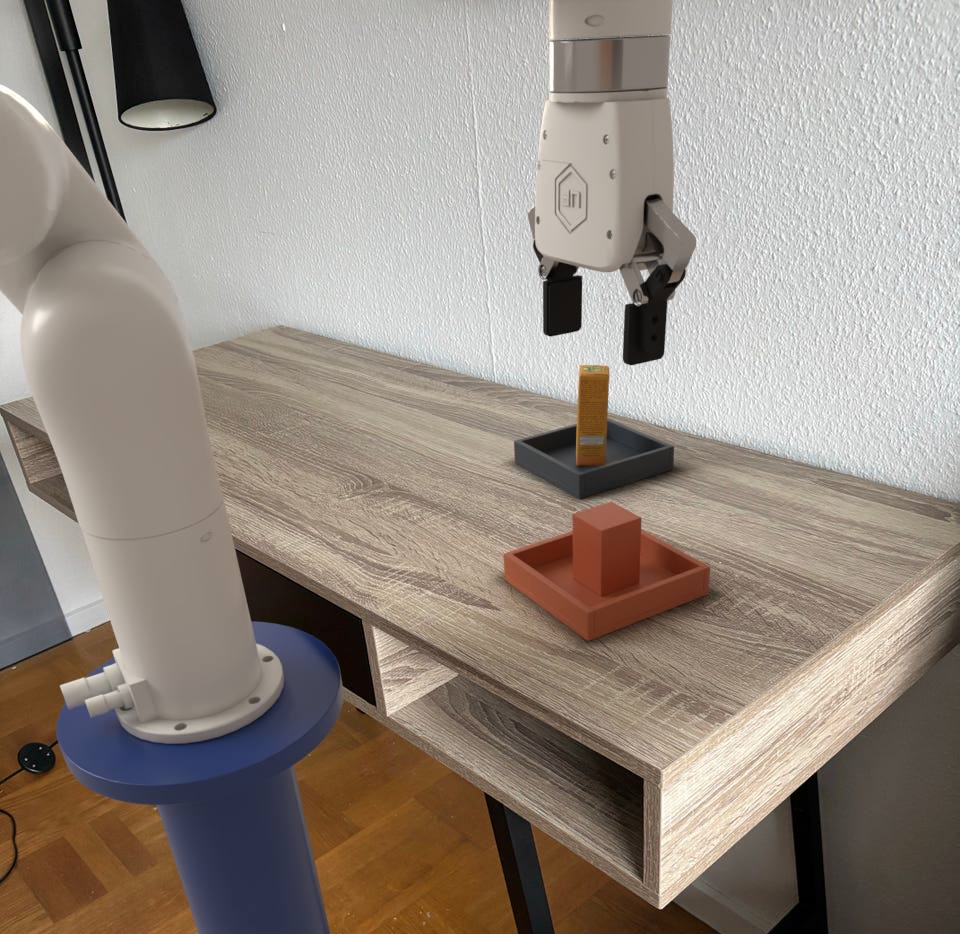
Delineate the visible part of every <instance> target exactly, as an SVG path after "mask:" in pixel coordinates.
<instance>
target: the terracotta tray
mask: <svg viewBox="0 0 960 934" xmlns="http://www.w3.org/2000/svg"><path fill="white" fill-rule="evenodd" d="M503 567H504V568H503V570H504V581H506V582H507V583H508V584H510V585H511V586H513V587H514V588H515V589H517V590H518V591H519V592H520V593H522V594H523V595H524V596H526V597H527V598H528V599H530V600H531V601H532V602H534V603H535V604H537V605H538V606H539V607H541V608H542V609H543V610H545V611H546V612H547V613H549V614H550V615H552V616H553V617H554V618H555V619H557V620H558V621H560V622H561V623H562V624H564V625H565V626H566V627H568V628H569V629H570V630H572V631H573V632H575V633H576V634H577V635H578V636H580V637H582V638H583V639H584V640H586V641H587V642H590V641H593V640H595V639H598V638H600V637H603V636H605V635H608V634H610V633H613V632H615V631H618V630H620V629H623V628H625V627H629V626H630V625H633V624H636V623H638V622H641V621H644V620H646V619H649V618H651V617H653V616H657V615H659V614H662V613H664V612H667V611H670V610H671V609H675V608H677V607H679V606H682V605H684V604H687V603H690V602H692V601H694V600H698V599H700V598H702V597H705V596H707V595H709V588H710V576H711V566H710V565H708V564H706V563H704V562H703V561H700V560H699V559H697V558H695V557H693V556H691V555H689V554H687V553H686V552H684V551H682V550H680V549H678V548H677V547H675V546H673V545H671V544H669V543H668V542H665V541H664V540H662V539H661V538H659V537H656V536H655V535H654V534H651V533H650V532H648V531H646V530H644V529H642V528H641V548H640V577H639V583H637V584H634V585H631V586H629V587H626V588H623V589H621V590H618V591H615V592H612V593H610V594H607V595H604V596H602V597H601V596H599V595H598V594H596V593H595V592H593V591H592V590H590V589H589V588H587V587H586V586H584V585H583V584H581V583H580V582H578V581H577V580H575V579H574V578H573V530H571V531H568V532H565V533H561V534H559V535H555V536H553V537H550V538H547V539H544V540H541V541H537V542H535V543H534V542H533V543H532V544H529V545H526V546H523V547H519V548H517V549H513V550H511V551H509V552H505V553H503Z"/></svg>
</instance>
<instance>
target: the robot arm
mask: <svg viewBox="0 0 960 934" xmlns="http://www.w3.org/2000/svg"><path fill="white" fill-rule="evenodd" d="M673 2H674V1H673V0H548V40H549V42H548V91H549V92H548V99H545V103H544V108H543V113H542V119H541V124H540V125H541V126H540V132H539V141H538V150H537V162H536V163H537V164H536V177H535V178H536V179H535V182H536V183H535V201H534V202H535V203H534V204H535V205H533V206H532V207H531V208H529V210H528V213H527V219H528V224H529V228H530V231H531V236H532V239H533V243H532V249H533V251H534V254H535V256H536V258H537V260H538V262H539V265H538V268H537V272H538V276H539V278H540V279H541V280H542V332H543V335H544V336H547V337H555V336H561V335H566V334H572V333H577V332H579V331H580V330H581V329H582V323H583V322H582V321H583V320H582V319H583V275H579V274H577V272H578V270H579V268H583V269H585V270H591V271H595V272H598V273H599V272H600V273H613V272H617V271H618V270H619V272H620V274H621V277H622V279H623V282H624V284H625V287H626V289H627V291H628V294H629V296H630V299H631V301H632V302H631V303H626V304H625V305H624V319H623V341H622V343H623V344H622V345H623V346H622V361H623V363H624V364H625V365H628V366H636V365H641V364H645V363H649V362H653V361H658V360H661V359H663V357H664V356H665V348H666V333H667V332H666V331H667V316H668V315H667V314H668V302H669V301H672V300H673V299H674V298H675V295H676V289H677V288H678V287H679V286H680V284H681V283H682V282H683V281H684V280H685V278H686V275H687V273H686V272H687V268H688V266H689V263H690V261H691V258H692V257H693V254H694V251H695V250H696V246H697V238H696V236H695V234H694V233H693V232H692V231H691V230H690V229H689V228H688V227H687V226H686V225H685V224H684V223H683V222H682V220H680V218H678V216H676V214H675V213H674V193H675V192H674V188H675V187H674V186H675V170H674V168H675V167H674V166H675V165H674V137H673V123H672V112H671V111H672V110H671V102H670V97H668V92H669V91H668V89H669V87H668V85H669V67H670V51H671V36H670V35H671V34H672V18H673V17H672V16H673ZM646 270H647V272H648V274H649V276H648V277H647V278H646V279H645V280H644V278H643V275H642V272H641V271H646ZM576 274H577V275H576ZM0 292H1V293H2V294H3V295H4V296H5V298H6V299H7V300H9V302H10V303H11V304H12V305H13V306H14V307H15V309H16V310H17V311H19V313H20V314H21V315H22V316H21V323H20V352H21V359H22V365H23V368H24V373H25V377H26V381H27V384H28V387H29V390H30V393H31V396H32V399H33V401H34V404H35V406H36V409H37V412H38V414H39V416H40V419H41V421H42V424H43V426H44V429H45V431H46V434H47V437H48V439H49V442H50V443H51V446H52V448H53V451H54V454H55V456H56V459H57V462H58V465H59V468H60V471H61V473H62V476H63V479H64V483H65V485H66V488H67V491H68V495H69V498H70V501H71V504H72V507H73V510H74V513H75V516H76V519H77V523H78V526H79V528H80V529H81V532H82V536H83V539H84V543H85V545H86V548H87V549H86V550H87V552H88V555H89V557H90V561H91V564H92V568H93V571H94V574H95V577H96V580H97V583H98V586H99V589H100V593H101V596H102V599H103V602H104V606H105V608H106V612H107V615H108V618H109V621H110V624H111V627H112V630H113V633H114V637H115V641H116V643H117V645H118V648H115V649H113V650H112V651H111V652H112V654H113V657H114V658H115V661H116V663H114V664H113V665H110V666H107V667H104V668H103V670H104V672H103V673H100V674H97V675H94V676H91V677H88V678H86V677H81V678H78V679H75V680H72V681H69V682H65V683H63V684H60V685H59V688H60V690H61V693H62V696H63V698H64V702H66V704H67V707H68V709H69V710H71V709H74V708H77V707H80V706H83V705H86V706H87V708H88V711H89V714H90V716H91V718H93V717H96V716H99V715H102V714H105V713H108V712H109V711H111V710H114V709H115V711H116V714H117V718H118V720H119V722H120V723H121V725H122V727H123V728H124V729H125V730H127V731H128V732H129V733H130V734H132V735H134V736H136V737H138V738H140V739H144V740H147V741H151V742H156V743H165V744H186V743H193V742H200V741H205V740H209V739H213V738H217V737H220V736H223V735H226V734H228V733H231V732H234V731H236V730H238V729H240V728H242V727H244V726H246V725H248V724H250V723H251V722H253V721H254V720H256V719H257V718H259V717H260V716H262V715H263V714H264V713H265V712H266V711H267V710H268V709H269V708H270V707H272V706H273V704H274V703H275V702H276V700H277V699H278V698H279V696H280V694H281V692H282V689H283V686H284V674H283V668H282V665H281V662H280V660H279V658H278V657H277V656H276V655H275V654H274V653H273V652H272V651H271V650H269V649H267V648H266V647H264V646H262V645H259V644H256V641H255V636H254V632H253V627H252V623H251V621H252V619H251V618H252V617H251V614H250V609H249V606H248V602H247V597H246V592H245V588H244V583H243V579H242V574H241V569H240V565H239V561H238V556H237V551H236V547H235V543H234V538H233V533H232V530H231V529H232V528H231V525H230V520H229V516H228V511H227V507H226V504H225V503H226V502H225V498H224V495H223V491H222V487H221V483H220V478H219V472H218V468H217V465H216V464H217V463H216V460H215V455H214V451H213V446H212V442H211V437H210V432H209V428H208V423H207V418H206V412H205V408H204V402H203V399H202V398H203V397H202V393H201V386H200V381H199V376H198V370H197V363H196V359H195V355H194V351H193V350H194V349H193V346H192V342H191V338H190V335H189V331H188V328H187V324H186V321H185V318H184V315H183V311H182V308H181V306H180V303H179V301H178V298H177V296H176V293H175V290H174V288H173V285H172V284H171V281H170V280H169V279H168V276H167V275H166V273H165V272H164V270H163V269H162V268H161V266H160V265H159V264H158V262H157V261H156V259H155V258H154V257H153V256H152V255H151V253H150V251H149V250H148V249H147V248H146V246H145V245H144V244H143V243H142V242H141V240H140V238H138V236H137V235H136V233H135V232H134V231H133V230H132V228H131V227H130V226H129V225H128V223H127V222H126V220H125V219H124V218H123V217H122V216H121V215H120V213H119V212H118V210H117V209H116V208H115V207H114V205H113V204H112V202H111V201H110V200H109V199H108V197H107V196H106V195H105V193H104V192H103V191H102V190H101V189H100V187H99V186H98V185H97V183H96V182H95V181H94V179H93V178H92V177H91V175H90V174H89V173H88V171H86V169H85V168H84V167H83V165H82V164H81V163H80V161H79V160H78V158H76V155H74V154H73V152H72V151H71V150H70V148H69V147H68V146H67V144H66V143H65V142H64V141H63V139H62V138H61V137H60V135H59V134H58V133H57V132H56V130H54V129H53V127H52V126H51V125H50V123H49V122H48V121H47V120H46V119H45V118H44V117H43V115H42V114H41V113H40V112H39V111H38V110H37V109H36V108H35V107H34V106H33V105H32V104H30V103H29V101H27V100H26V99H25V98H24V97H22V96H21V95H20V94H18V93H16V92H15V91H13V90H12V89H11V88H8V87H6V86H5V85H3V84H1V83H0Z"/></svg>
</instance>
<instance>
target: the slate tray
mask: <svg viewBox="0 0 960 934" xmlns="http://www.w3.org/2000/svg"><path fill="white" fill-rule="evenodd" d="M576 435H577V423H574V424H571V425H567V426H563V427H560V428H556V429H552V430H549V431H545V432H541V433H538V434H534V435H529V436H526V437H523V438H520V439H516V440H514V441H513V450H514V451H513V453H514V464H515V465H518V466H520V467H521V468H523V469H524V470H527V471H529V472H530V473H532V474H534V475H535V476H538V477H539V478H541V479H543V480H544V481H546V482H548V483H550V484H552V485H554V486H556V487H557V488H559V489H561V490H563V491H565V492H566V493H568V494H569V495H572V496H574V497H575V498H577V499H578V500H579V499H583V498H587V497H590V496H593V495H596V494H599V493H603V492H605V491H610V490H612V489H616V488H618V487H622V486H625V485H628V484H631V483H634V482H637V481H641V480H645V479H647V478H650V477H653V476H657V475H660V474H663V473H666V472H670V471H673V470H674V462H675V461H674V460H675V459H674V458H675V446H674V445H672V444H670V443H667V442H665V441H662V440H661V439H658V438H655V437H654V436H650V435H648V434H646V433H644V432H642V431H639V430H637V429H636V428H635V429H634V428H633V427H630V426H627V425H626V424H623V423H620V422H618V421H616V420H614V419H612V418H609V417H607V440H606V465H602V466H590V467H585V466H577V464H576Z"/></svg>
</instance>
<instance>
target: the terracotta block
mask: <svg viewBox="0 0 960 934" xmlns="http://www.w3.org/2000/svg"><path fill="white" fill-rule="evenodd" d="M641 529H642V517H641V516H639V515H638V514H636V513H634V512H632V511H631V510H628V509H626V508H624V507H623V506H621V505H619V504H617V503H615V502H614V501H608V502H605V503H602V504H599V505H596V506H593V507H590V508H587V509H584V510H580V511H578V512H575V513H572V531H573V578H574V579H575V580H577V581H578V582H580V583H581V584H583V585H584V586H586V587H587V588H589V589H590V590H592V591H593V592H595V593H596V594H598V595H599V596H601V597H602V596H604V595H607V594H610V593H612V592H615V591H618V590H621V589H623V588H626V587H629V586H631V585H634V584H637V583H639V577H640V548H641Z"/></svg>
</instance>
